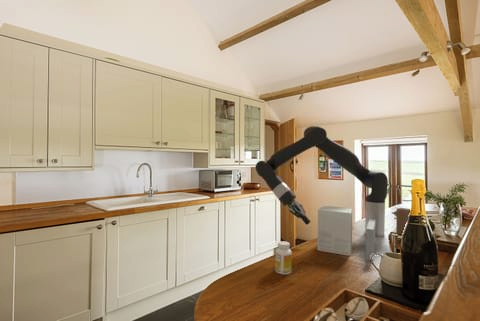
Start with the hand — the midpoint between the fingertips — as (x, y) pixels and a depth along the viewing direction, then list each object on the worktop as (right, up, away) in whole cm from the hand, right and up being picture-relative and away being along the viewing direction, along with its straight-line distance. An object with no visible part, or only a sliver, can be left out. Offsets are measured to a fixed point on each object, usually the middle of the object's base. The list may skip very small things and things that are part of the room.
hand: (308, 223), depth 117 cm
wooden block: (+41, -11, -7) cm, 43 cm away
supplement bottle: (-17, -9, -30) cm, 36 cm away
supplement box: (+10, -10, -6) cm, 15 cm away
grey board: (+24, -10, -9) cm, 27 cm away
